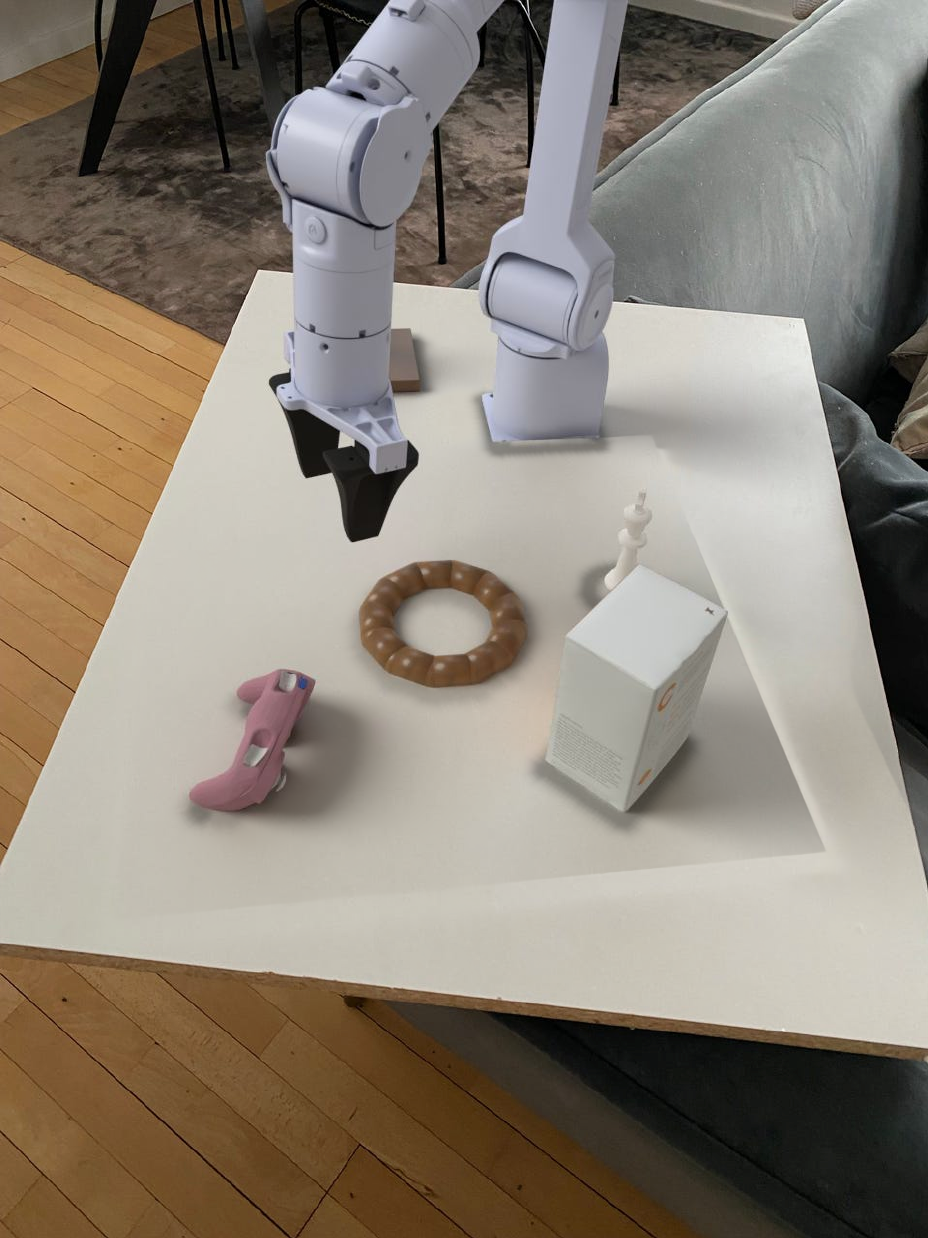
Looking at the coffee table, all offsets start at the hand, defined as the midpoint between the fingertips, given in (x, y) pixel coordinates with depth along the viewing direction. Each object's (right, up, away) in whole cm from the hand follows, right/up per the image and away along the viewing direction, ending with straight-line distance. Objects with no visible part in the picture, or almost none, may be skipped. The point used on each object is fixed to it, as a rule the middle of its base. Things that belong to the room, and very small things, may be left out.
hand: (339, 503), depth 71 cm
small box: (+18, -17, -2) cm, 25 cm away
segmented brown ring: (+7, -8, +4) cm, 11 cm away
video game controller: (-5, -17, -3) cm, 18 cm away
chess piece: (+20, -6, +9) cm, 23 cm away
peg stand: (-1, +16, +29) cm, 33 cm away
